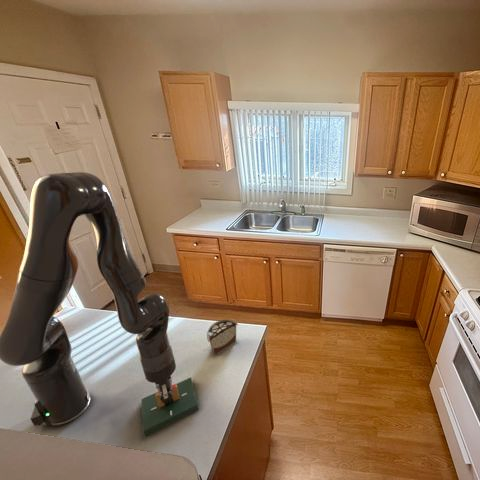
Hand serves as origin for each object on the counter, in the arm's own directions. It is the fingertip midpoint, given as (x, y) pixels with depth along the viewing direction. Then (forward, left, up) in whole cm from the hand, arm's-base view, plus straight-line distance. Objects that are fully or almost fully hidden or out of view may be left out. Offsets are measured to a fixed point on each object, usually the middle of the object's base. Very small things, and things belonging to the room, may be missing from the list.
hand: (169, 400), depth 78 cm
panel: (0, 0, -3) cm, 3 cm away
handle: (0, 0, 0) cm, 0 cm away
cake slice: (+20, +17, -3) cm, 26 cm away
